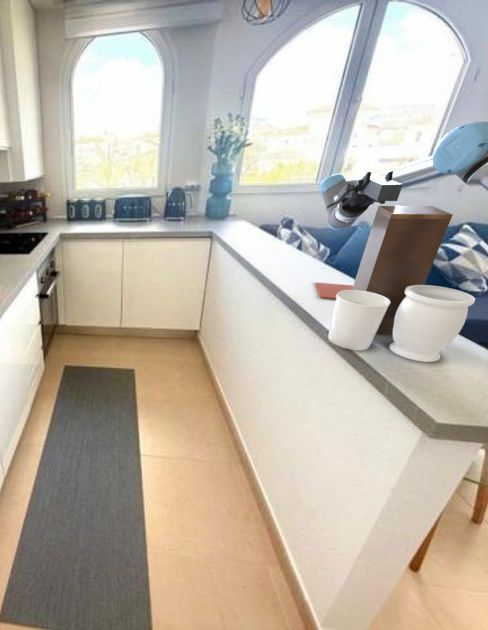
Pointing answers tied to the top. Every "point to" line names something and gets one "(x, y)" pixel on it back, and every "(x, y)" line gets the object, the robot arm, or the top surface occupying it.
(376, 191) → the slim box
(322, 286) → the mat
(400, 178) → the robot arm
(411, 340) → the jar
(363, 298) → the white flower pot
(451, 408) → the top surface
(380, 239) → the stand
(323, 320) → the top surface
